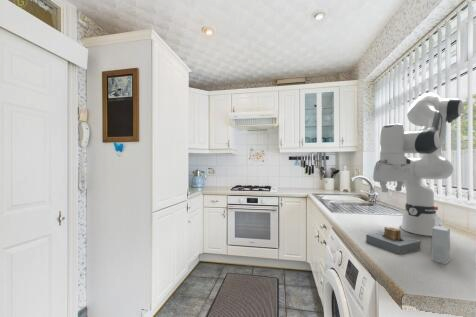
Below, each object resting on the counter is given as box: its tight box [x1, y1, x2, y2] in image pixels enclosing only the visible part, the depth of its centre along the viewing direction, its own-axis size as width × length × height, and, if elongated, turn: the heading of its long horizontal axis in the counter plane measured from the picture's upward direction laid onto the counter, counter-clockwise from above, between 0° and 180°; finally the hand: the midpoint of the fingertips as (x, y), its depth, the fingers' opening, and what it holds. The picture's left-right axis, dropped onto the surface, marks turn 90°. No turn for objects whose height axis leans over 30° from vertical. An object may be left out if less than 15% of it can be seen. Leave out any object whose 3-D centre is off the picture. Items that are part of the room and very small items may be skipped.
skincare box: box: [431, 226, 451, 265], centre depth 81 cm, size 6×4×12 cm
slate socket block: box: [365, 231, 421, 255], centre depth 95 cm, size 14×14×3 cm
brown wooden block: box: [383, 226, 402, 241], centre depth 95 cm, size 6×4×7 cm, turn 23°
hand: (391, 191), depth 96 cm, fingers open, 8 cm apart
